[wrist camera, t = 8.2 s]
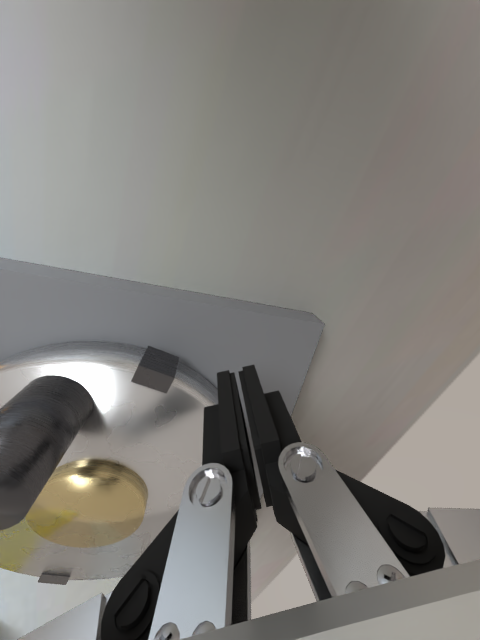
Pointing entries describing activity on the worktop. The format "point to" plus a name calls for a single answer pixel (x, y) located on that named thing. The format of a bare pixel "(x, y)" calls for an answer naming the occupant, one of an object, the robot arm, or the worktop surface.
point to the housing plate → (158, 326)
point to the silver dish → (93, 455)
